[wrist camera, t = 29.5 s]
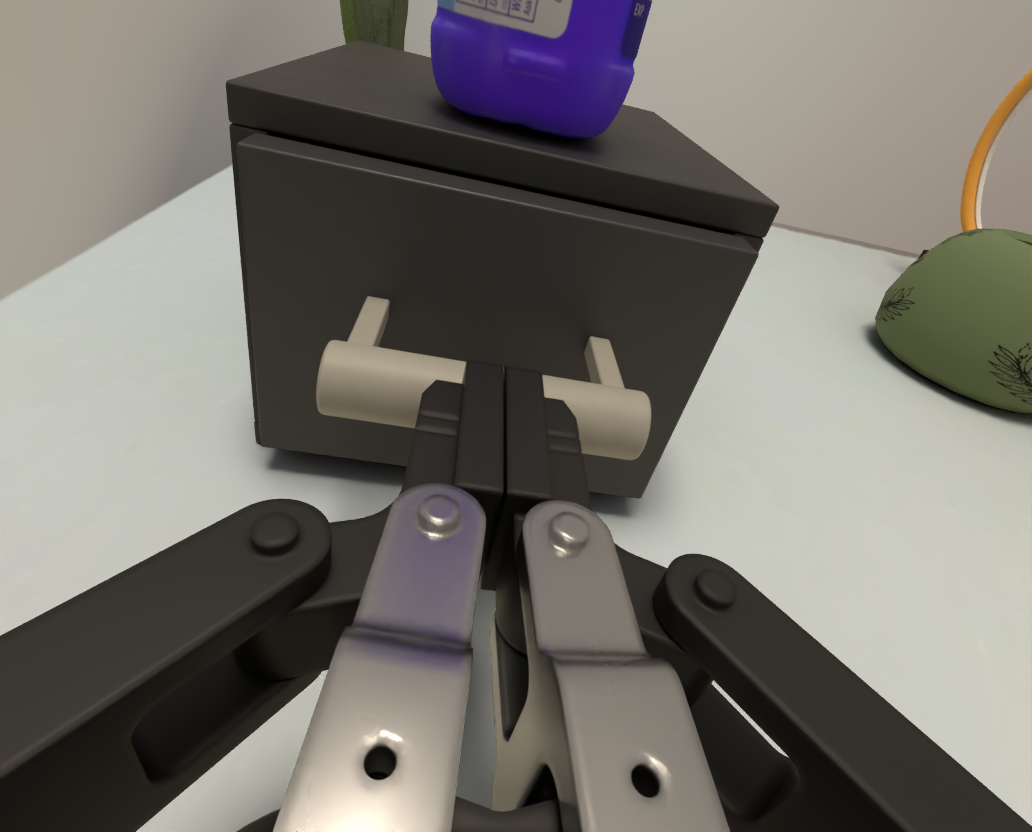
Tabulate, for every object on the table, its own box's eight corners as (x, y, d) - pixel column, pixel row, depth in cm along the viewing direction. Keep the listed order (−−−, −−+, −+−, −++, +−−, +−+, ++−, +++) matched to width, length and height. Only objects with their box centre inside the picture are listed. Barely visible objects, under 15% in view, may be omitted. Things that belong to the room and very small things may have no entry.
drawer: (672, 609, 16) (846, 336, 11) (200, 557, 14) (131, 198, 9) (590, 318, 30) (646, 141, 25) (352, 274, 28) (359, 73, 23)
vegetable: (399, 191, 43) (430, -166, 32) (383, 207, 40) (412, -188, 28) (343, 177, 43) (353, -187, 32) (322, 191, 40) (325, -212, 28)
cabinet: (641, 496, 21) (781, 205, 14) (255, 442, 19) (223, 79, 13) (590, 315, 33) (655, 112, 26) (349, 270, 31) (357, 39, 24)
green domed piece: (1017, 445, 31) (1154, 304, 26) (824, 328, 39) (900, 204, 34) (1112, 407, 39) (1232, 293, 34) (935, 316, 47) (1010, 214, 42)
